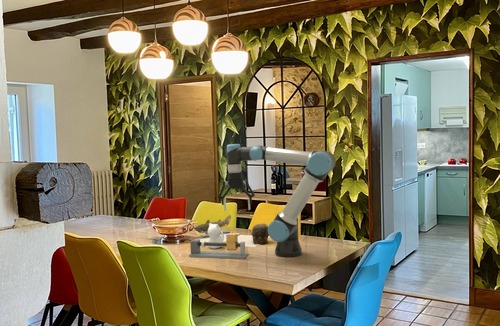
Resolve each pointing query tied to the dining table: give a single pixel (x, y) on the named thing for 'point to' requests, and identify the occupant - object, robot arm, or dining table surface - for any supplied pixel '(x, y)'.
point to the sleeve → (232, 241)
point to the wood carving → (204, 227)
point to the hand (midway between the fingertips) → (237, 210)
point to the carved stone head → (260, 234)
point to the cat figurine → (215, 235)
